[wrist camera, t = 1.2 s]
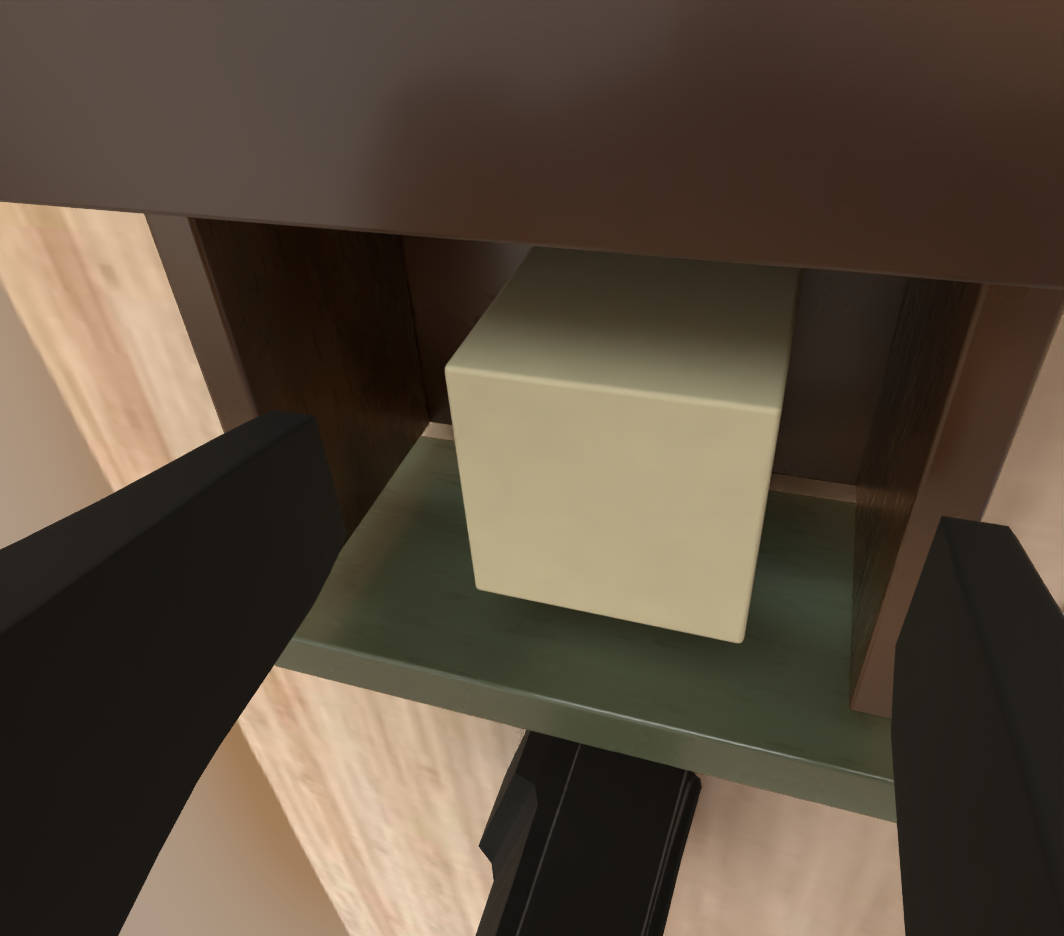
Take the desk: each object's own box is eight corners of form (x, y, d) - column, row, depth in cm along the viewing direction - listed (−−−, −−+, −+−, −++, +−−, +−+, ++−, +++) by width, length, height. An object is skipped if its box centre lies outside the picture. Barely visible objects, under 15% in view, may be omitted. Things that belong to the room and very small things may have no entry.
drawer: (864, 677, 22) (859, 945, 17) (432, 587, 25) (322, 787, 20) (1123, -127, 11) (1330, -44, 6) (300, -95, 14) (-11, -26, 9)
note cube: (776, 436, 17) (743, 646, 13) (565, 406, 18) (474, 591, 14) (810, 225, 14) (782, 411, 10) (558, 208, 15) (441, 366, 11)
